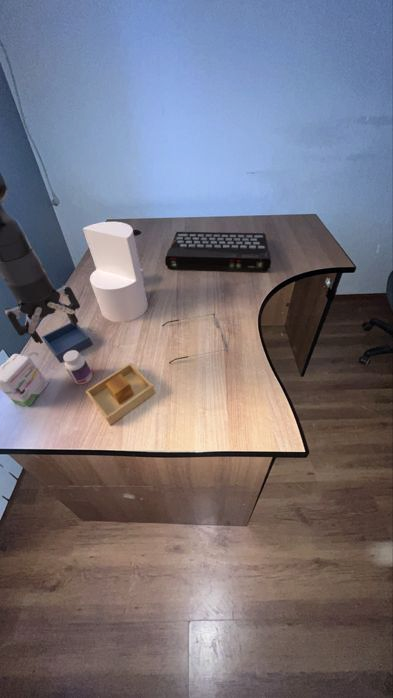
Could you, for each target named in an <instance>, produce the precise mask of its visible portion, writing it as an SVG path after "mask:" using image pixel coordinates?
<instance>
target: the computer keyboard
mask: <svg viewBox="0 0 393 698" xmlns="http://www.w3.org/2000/svg"><path fill="white" fill-rule="evenodd" d="M271 259H272V258H271V254H270V250H269V246H268V240H267V235H266V233H264V232H222V231H221V232H220V231H219V232H216V231H215V232H214V231H211V232H210V231H176V232H175V234H174V237H173V239H172V242H171V244H170V247H169V248H168V250H167V253H166V255H165V258H164V263H165V266H166V268H167V269H168V270H187V271H188V270H189V271H194V270H195V271H219V272H220V271H221V272H252V273H254V272H255V273H257V272H259V273H267V272H268V271H269V270H270V269H271V265H272V260H271Z"/></svg>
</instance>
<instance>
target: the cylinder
mask: <svg viewBox="0 0 393 698" xmlns="http://www.w3.org/2000/svg"><path fill="white" fill-rule="evenodd" d="M82 231H83V234H84V236H85V240H86V242H87V246H88V249H89V251H90V255H91V257H92V260H93V263H94V267H95V270H94V271H93V272H92V273H91V275H90V276H89V282H90V285H91V287H92V291H93V293H94V295H95V298H96V301H97V303H98V306H99V309H100V312H101V315H102V316H103V318H104V319H106V320H107V321H110V322H113V323H127V322H131V321H135V320H136V319H138V318H140V317H141V316H142V315H144V314H145V312H147V310H148V306H149V304H148V299H147V292H146V288H145V283H143V278H142V273H141V269H142V268H141V264H140V260H139V259H140V258H139V255H138V249H137V243H136V240H135V234H134V229H133V227H132V226H131V225H129V224H128V223H125V222H122V221H101V222H96V223H93V224H90V225H87V226H85V227H83V228H82Z"/></svg>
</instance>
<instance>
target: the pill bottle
mask: <svg viewBox="0 0 393 698" xmlns="http://www.w3.org/2000/svg"><path fill="white" fill-rule="evenodd" d="M63 359H64V361H63V362H64V368H65V369H66V371H67V373H68V374H69V376H70V377H71V379H72V381H73V382H74V384H77V385H86V384H87V383H89V382H90V381H91V379H92V378H93V372H92V370H91V368H90V366H89V365H88V363H87V360H86V359H85V357H84V356H83V355H81V354H80V352H79V353H78V351H76V350H71V351H68V352H67V353H65V355H64V356H63Z"/></svg>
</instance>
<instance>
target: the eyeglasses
mask: <svg viewBox="0 0 393 698" xmlns="http://www.w3.org/2000/svg"><path fill="white" fill-rule="evenodd" d="M211 315H212V316H213V321H214V325H215V327H216V328H219V329H220V331H221V342H222V345H223V347H224V351H228V350H229V346H228V341H227V337H226V336H225V334H224V331H223V328H222V325H221V323H219V318H218V316H217V313H216V312H213V313H210V314H209V316H211ZM199 317H202V315H201V316H200V315H199V316H198V318H199ZM203 317H207V314H206V315H203ZM195 318H196V316H194V317H192V319H195ZM189 319H190V317H188V318H186V320H189ZM182 320H185V318H182V319H174V320H168V321H167V322H165V323H163V324H162V325H161V326H162V327H165V325H167V324H169V323H174V322H180V321H182ZM222 351H223V349H221V350H219V352H222ZM216 352H218V350H215V351H214V353H216ZM211 353H213V351H209V354H211ZM206 354H208V352H205V353H203V355H206ZM200 355H201V356H202V353H199V354H198V356H200ZM190 357H192V355H189V356H188V355H187V356H182V357H176V358H173V359H172V360H171V361H169V362H168V364H172V363H173V362H175V361H177V360H182V359H186V358H188V359H189V358H190ZM193 357H197V354H194V355H193Z"/></svg>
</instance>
